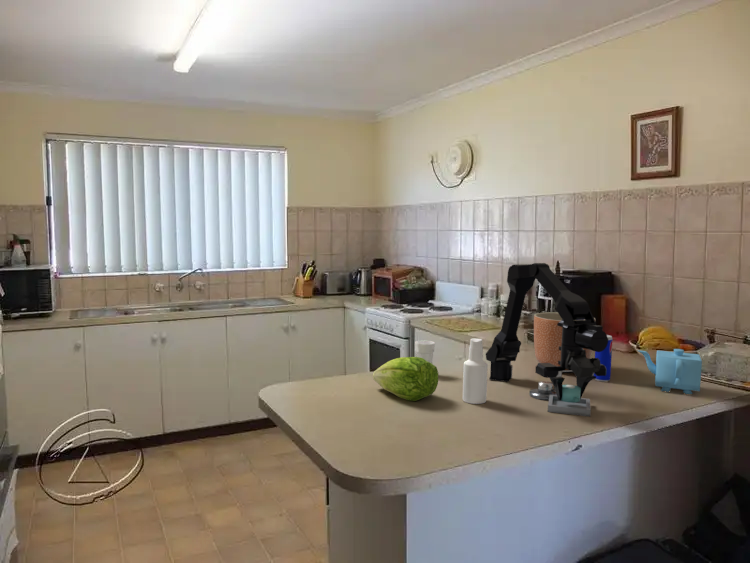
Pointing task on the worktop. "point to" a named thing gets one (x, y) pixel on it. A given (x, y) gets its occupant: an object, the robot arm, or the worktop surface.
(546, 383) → the round metal saucer
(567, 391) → the teal rounded toy
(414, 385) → the lettuce
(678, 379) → the teapot
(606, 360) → the beverage can
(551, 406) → the tray
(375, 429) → the worktop surface
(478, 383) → the spray bottle
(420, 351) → the cup
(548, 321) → the planter
